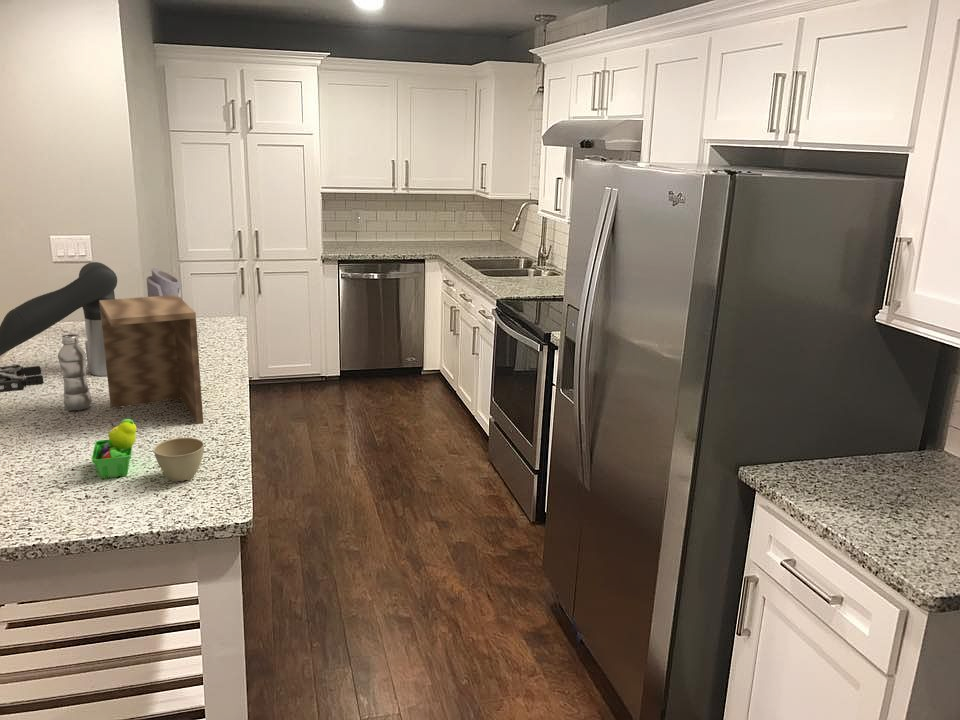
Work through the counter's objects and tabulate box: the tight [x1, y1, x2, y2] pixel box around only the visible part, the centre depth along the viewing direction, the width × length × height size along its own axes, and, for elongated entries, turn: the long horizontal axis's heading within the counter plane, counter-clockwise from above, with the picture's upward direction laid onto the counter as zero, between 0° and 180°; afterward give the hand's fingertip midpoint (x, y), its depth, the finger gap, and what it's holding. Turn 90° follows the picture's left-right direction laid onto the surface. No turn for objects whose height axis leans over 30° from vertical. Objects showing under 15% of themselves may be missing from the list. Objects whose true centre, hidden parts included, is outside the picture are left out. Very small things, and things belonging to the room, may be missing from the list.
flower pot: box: [153, 437, 205, 482], centre depth 163 cm, size 10×10×7 cm
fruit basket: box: [91, 418, 137, 479], centre depth 165 cm, size 11×9×11 cm
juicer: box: [146, 268, 183, 300], centre depth 271 cm, size 30×16×24 cm, turn 99°
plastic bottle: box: [57, 333, 93, 411], centre depth 198 cm, size 6×7×20 cm
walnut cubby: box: [99, 295, 204, 425], centre depth 195 cm, size 19×23×29 cm
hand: (42, 374), depth 194 cm, fingers open, 8 cm apart
